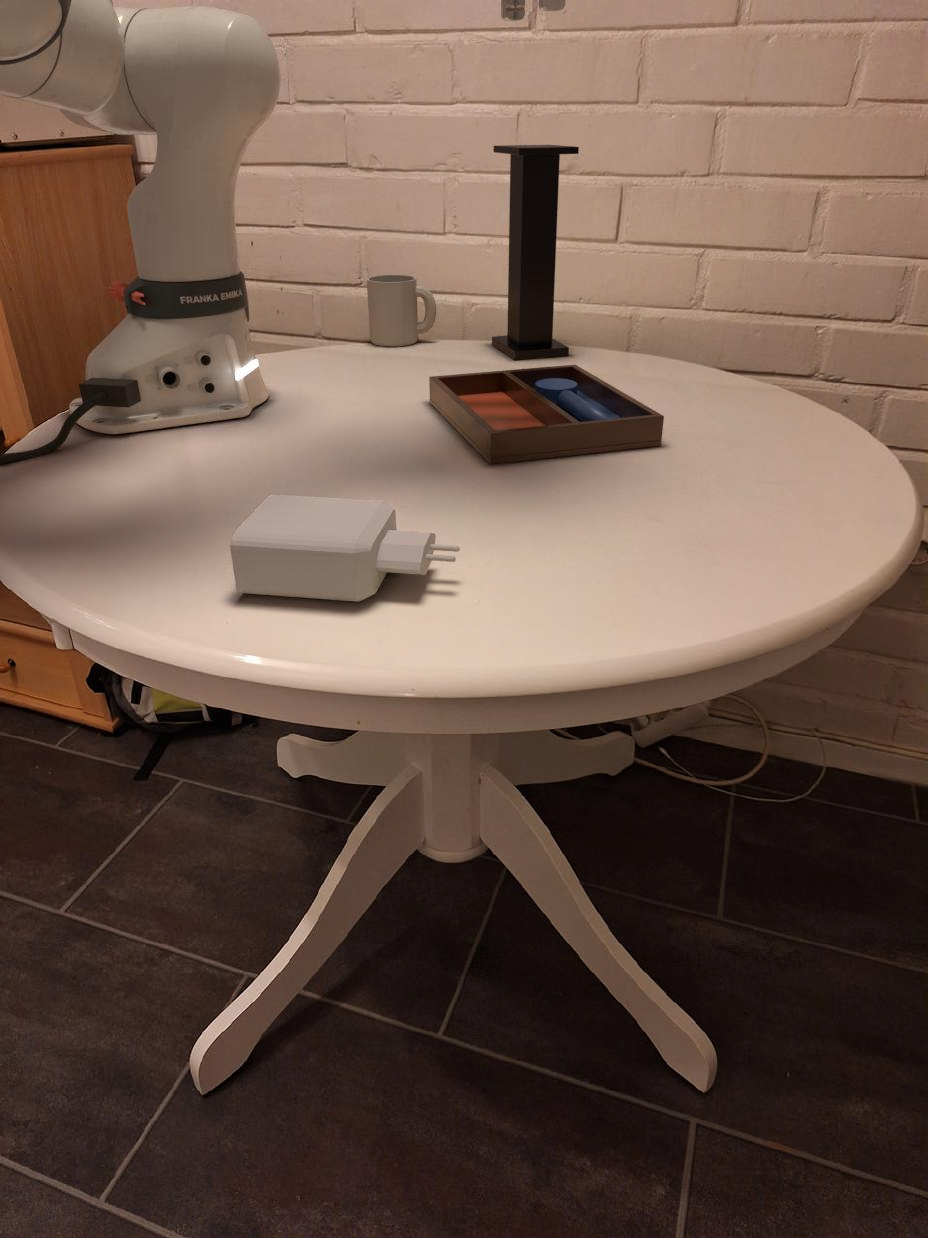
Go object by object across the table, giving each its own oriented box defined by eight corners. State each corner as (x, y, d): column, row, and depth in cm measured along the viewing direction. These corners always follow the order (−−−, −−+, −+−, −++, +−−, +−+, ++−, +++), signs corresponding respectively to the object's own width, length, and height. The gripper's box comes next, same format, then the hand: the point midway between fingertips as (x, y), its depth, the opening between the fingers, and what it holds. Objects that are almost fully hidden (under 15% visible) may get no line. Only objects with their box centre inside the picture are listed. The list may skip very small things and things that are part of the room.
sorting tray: (661, 445, 93) (664, 415, 91) (490, 464, 88) (490, 433, 86) (574, 389, 112) (575, 364, 110) (429, 402, 107) (429, 376, 105)
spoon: (633, 437, 92) (635, 418, 91) (590, 442, 91) (591, 423, 90) (566, 393, 107) (567, 376, 106) (528, 397, 106) (529, 379, 105)
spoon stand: (568, 355, 127) (579, 146, 114) (514, 360, 125) (519, 147, 112) (542, 341, 135) (549, 144, 123) (491, 344, 133) (493, 145, 121)
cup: (374, 335, 139) (371, 274, 135) (439, 336, 138) (438, 274, 134) (366, 346, 133) (362, 282, 128) (434, 347, 132) (432, 282, 128)
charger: (446, 615, 62) (236, 599, 64) (467, 557, 70) (280, 545, 72) (445, 551, 59) (227, 537, 62) (467, 499, 67) (274, 488, 70)
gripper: (632, -233, 64) (616, 4, 70) (529, -160, 81) (525, 25, 87) (548, -242, 62) (540, 2, 69) (461, -165, 79) (462, 24, 86)
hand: (531, 15), depth 78 cm, fingers open, 8 cm apart
